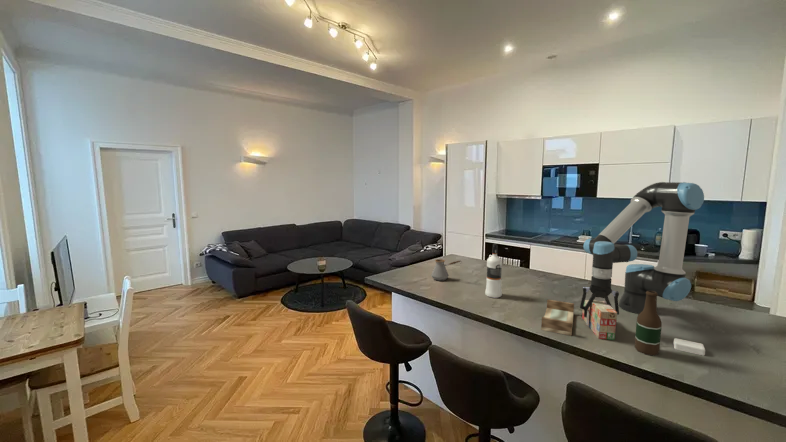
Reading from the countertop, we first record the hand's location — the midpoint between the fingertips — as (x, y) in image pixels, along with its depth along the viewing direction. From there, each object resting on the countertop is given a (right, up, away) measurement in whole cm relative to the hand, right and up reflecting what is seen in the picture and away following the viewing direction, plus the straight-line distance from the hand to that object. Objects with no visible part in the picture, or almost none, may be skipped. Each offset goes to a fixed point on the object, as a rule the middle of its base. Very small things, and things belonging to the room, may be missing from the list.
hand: (597, 326), depth 151 cm
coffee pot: (-56, +8, +72) cm, 92 cm away
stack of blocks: (0, -1, +1) cm, 1 cm away
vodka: (-34, +4, +43) cm, 55 cm away
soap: (+25, -4, -18) cm, 31 cm away
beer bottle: (+8, -4, -19) cm, 21 cm away
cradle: (-14, 0, +8) cm, 16 cm away
